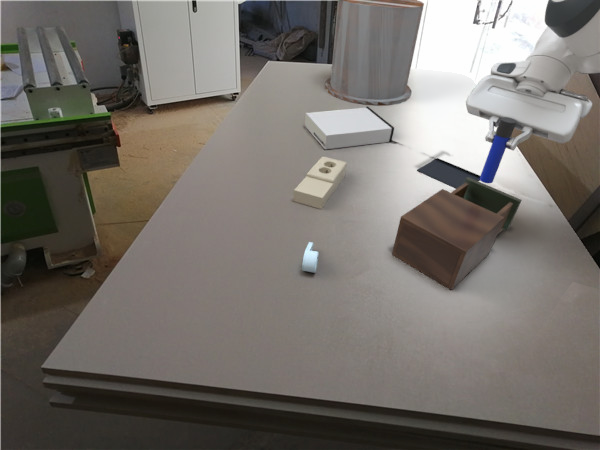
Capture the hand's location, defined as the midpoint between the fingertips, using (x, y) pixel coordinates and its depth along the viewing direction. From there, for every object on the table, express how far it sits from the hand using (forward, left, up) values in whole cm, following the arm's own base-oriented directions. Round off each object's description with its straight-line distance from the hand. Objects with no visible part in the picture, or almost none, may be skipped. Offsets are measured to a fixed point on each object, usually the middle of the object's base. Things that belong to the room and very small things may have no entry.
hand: (498, 144), depth 78 cm
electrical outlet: (+34, +12, -21) cm, 42 cm away
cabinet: (0, +12, -21) cm, 24 cm away
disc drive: (+51, -18, -21) cm, 58 cm away
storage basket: (+74, -58, -21) cm, 96 cm away
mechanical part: (+16, +34, -21) cm, 43 cm away
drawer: (0, -2, -20) cm, 20 cm away
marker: (0, 0, -8) cm, 8 cm away
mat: (+16, -22, -21) cm, 34 cm away
